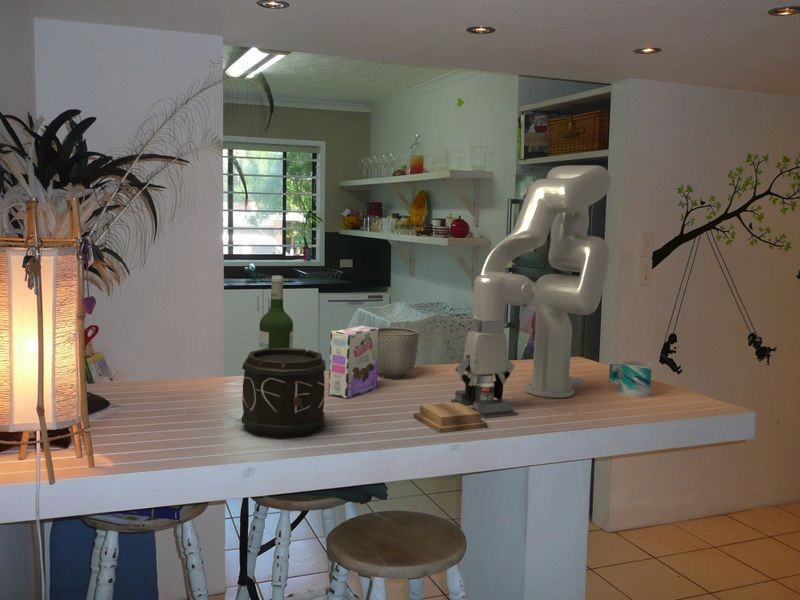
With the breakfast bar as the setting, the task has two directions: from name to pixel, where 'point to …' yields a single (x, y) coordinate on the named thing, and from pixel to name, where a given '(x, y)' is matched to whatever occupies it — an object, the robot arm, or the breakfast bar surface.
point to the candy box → (353, 361)
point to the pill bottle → (484, 389)
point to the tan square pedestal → (450, 417)
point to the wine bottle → (276, 321)
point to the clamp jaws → (488, 406)
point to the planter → (396, 351)
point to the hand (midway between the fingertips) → (483, 399)
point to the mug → (632, 378)
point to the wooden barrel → (283, 392)
